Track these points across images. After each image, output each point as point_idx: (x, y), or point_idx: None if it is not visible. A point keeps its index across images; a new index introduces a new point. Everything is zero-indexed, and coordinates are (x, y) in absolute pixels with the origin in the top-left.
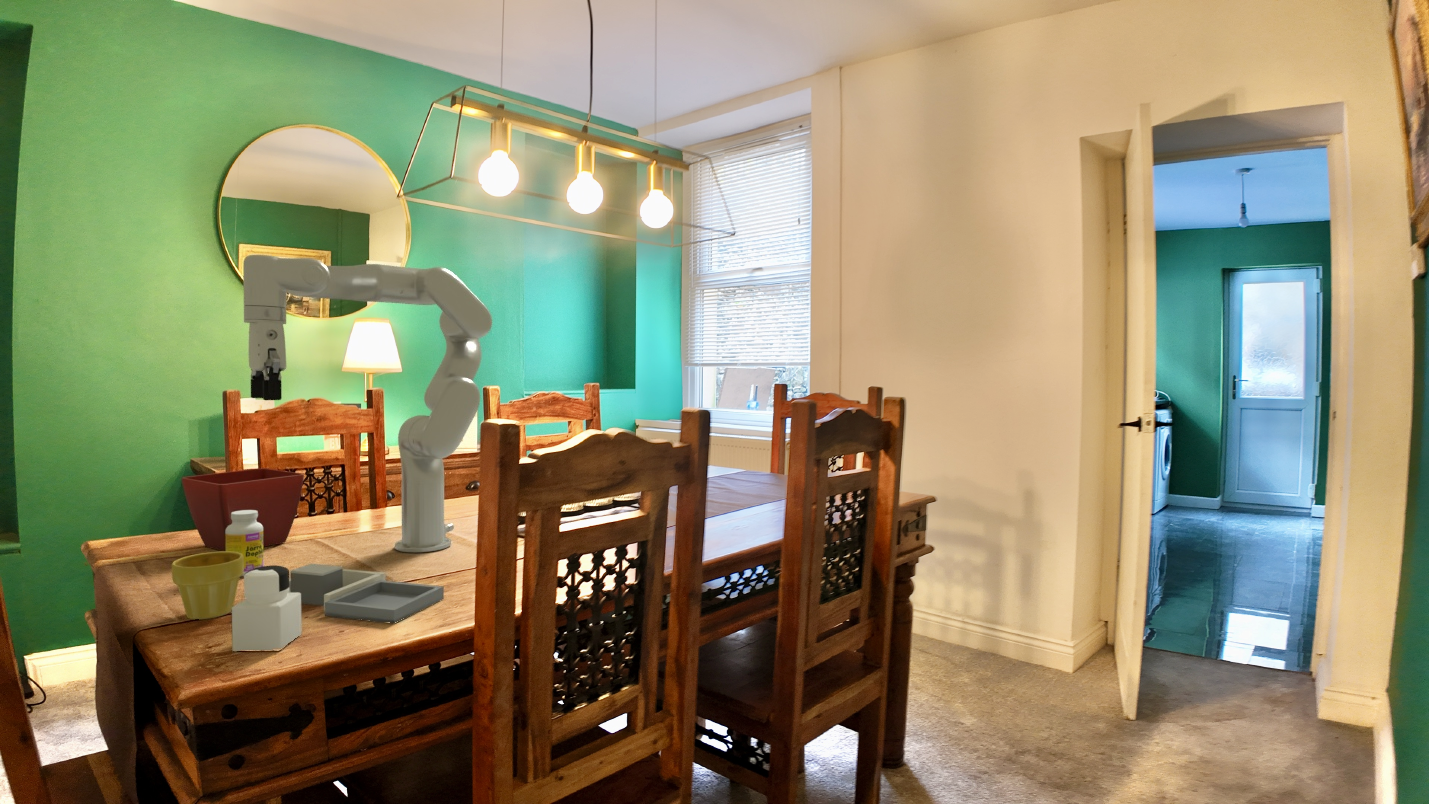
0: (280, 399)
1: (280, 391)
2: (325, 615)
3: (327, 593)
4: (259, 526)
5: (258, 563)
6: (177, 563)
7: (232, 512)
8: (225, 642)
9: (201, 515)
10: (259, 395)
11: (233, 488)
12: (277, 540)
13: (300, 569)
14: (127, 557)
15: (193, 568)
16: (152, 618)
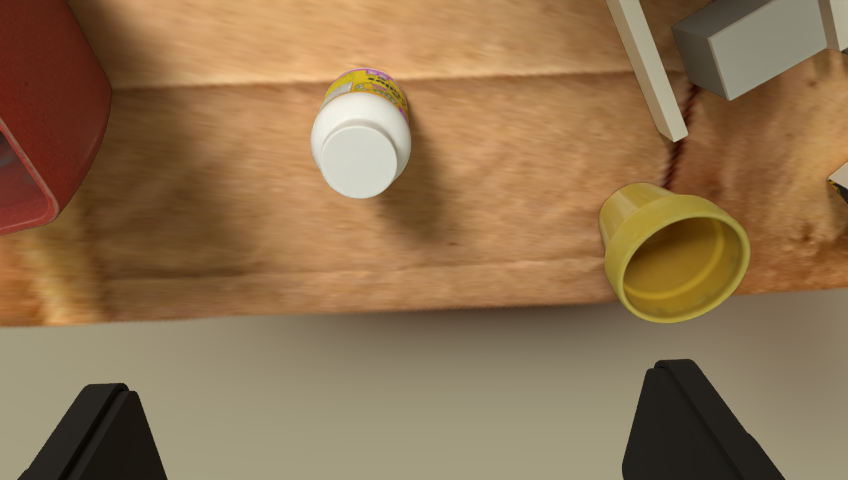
0: (686, 362)
1: (740, 434)
2: (844, 52)
3: (840, 42)
4: (392, 113)
5: (400, 90)
6: (643, 311)
7: (345, 193)
8: (807, 219)
9: None
10: (149, 470)
11: (48, 165)
12: None
13: (742, 79)
14: (42, 285)
15: (725, 297)
16: (584, 284)
